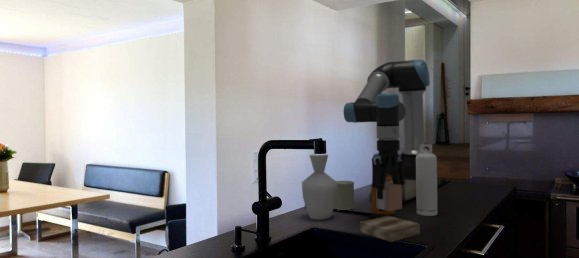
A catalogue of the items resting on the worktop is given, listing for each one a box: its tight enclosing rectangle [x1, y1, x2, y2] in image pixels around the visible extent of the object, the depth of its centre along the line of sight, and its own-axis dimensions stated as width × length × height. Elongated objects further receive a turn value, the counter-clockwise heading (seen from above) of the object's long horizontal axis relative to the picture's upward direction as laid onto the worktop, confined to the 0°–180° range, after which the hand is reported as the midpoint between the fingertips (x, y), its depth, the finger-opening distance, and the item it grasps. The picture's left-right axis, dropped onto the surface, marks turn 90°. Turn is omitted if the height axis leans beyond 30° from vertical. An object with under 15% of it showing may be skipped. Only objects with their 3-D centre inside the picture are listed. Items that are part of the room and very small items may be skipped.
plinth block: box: [359, 216, 421, 243], centre depth 134 cm, size 14×14×4 cm
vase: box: [301, 153, 337, 221], centre depth 158 cm, size 14×14×25 cm
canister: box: [370, 174, 396, 219], centre depth 153 cm, size 9×11×20 cm
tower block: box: [376, 183, 403, 211], centre depth 134 cm, size 6×6×8 cm
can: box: [333, 180, 355, 211], centre depth 173 cm, size 9×9×12 cm
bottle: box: [415, 143, 438, 217], centre depth 160 cm, size 8×8×28 cm
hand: (389, 207), depth 134 cm, fingers closed on tower block, 6 cm apart
